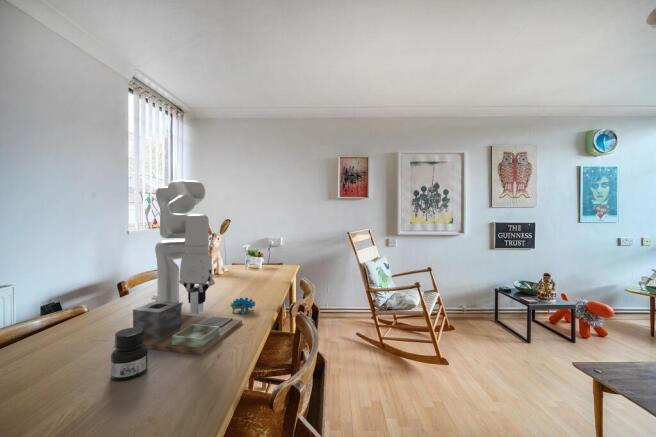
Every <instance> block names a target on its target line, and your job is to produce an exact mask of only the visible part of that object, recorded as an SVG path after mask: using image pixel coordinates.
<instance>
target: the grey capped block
mask: <svg viewBox="0 0 656 437" xmlns="http://www.w3.org/2000/svg"><path fill="white" fill-rule="evenodd" d="M199 292H200V290H199V284H197V285H195V287H193V288H190V303H189V304H190V305H189V308H190V310H189V312H190V314H191V315H199V314H201V313H203V312H204V302H203V303H201V304H198V293H199ZM190 314H189V315H190Z"/></svg>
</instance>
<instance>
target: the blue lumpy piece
mask: <svg viewBox="0 0 656 437" xmlns="http://www.w3.org/2000/svg"><path fill="white" fill-rule="evenodd" d="M255 306H256V302H255V300H253V298H248V297H244V298H243V297H239V298H236V299H235V300H233V302H231V303H230V307H231V309H232V314H235V310H239V309H240V310H241V314H242V315H244V314H245V310H249V309H253V307H255Z"/></svg>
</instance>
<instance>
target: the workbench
mask: <svg viewBox="0 0 656 437" xmlns="http://www.w3.org/2000/svg"><path fill="white" fill-rule="evenodd" d="M242 324H243V319H235V318H231V317H222V316H200V315H193V314H191V315H190V314H182V304H181V303H176V302H164V301H156V300H155V301H152V302H150V303H148V304H144V305H142V306H140V307H139V306H138V308H134V309H132V327H140V328H143V344H145V345H146V346H147V348H148V350H156V351H163V352H164V351H165V352H172V353H180V354H189V355H199V356H203V355H204V354H205V353H206V352H208V351H209V349H211V348H213V347H214V346H215V345H216V344H218V343H219V342H221V340H223V339H224V338H225V337H227V336H228V335H229V334H230V333H232V332H233V331H235V329H237V328H238V327H239V326H241V325H242Z"/></svg>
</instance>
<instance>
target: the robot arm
mask: <svg viewBox="0 0 656 437" xmlns="http://www.w3.org/2000/svg"><path fill="white" fill-rule="evenodd" d="M205 196H206V189H205V185H204V184H203V183H202V182H201V181H199V180H198V181H197V180H187V179H186V180H185V179H177V180H176V179H175V180H171V182H170V183H169V184H168V185H167V186H160V187H158V188H157V189H156V191H155V199H156V202H157V204H158V207H159V210H160V214H159V215H160V216H159V217H160V218H159V235H160V237H161V238H163V239H166V240H161V241H159V242H157V243H156V244H155V247H154V251H155V257H156V264H157V265H156V267H157V270H156V271H157V272H156V273H157V274H156V275H157V276H156V278H157V280H156V282H157V287H156V288H157V294H152V297H151V300H153V301H154V300H155V301H164V302H176V303H181V305H182V304H183V299H182V298H180V284H181V285H182V286H183V287H184V288H185V289H186V292H187V300H188V304H190V288H193V287H196V285H199V290H200V292H199V293H198V304H201V303H203V304H204V303H205V302H206V299H207V298H206V296H207V295H206V292H207V290H208V289H209V288H211V287H212V286H214V285H216V283H215V280H214V278H213V275H214V274H213V262H212V257H211V253H209V251H210V250H209V248H210V247H209V240H210V239H209V237H210V236H209V233H210V232H209V227H210V225H209V217H208V216H207V214H202V213H190V212H191V211H193V209H195V206H197V205H198V204H200V203H201V202H202V201H203V200H204V199H205ZM175 260H181V262H180V267H179V265H178V264H177V263H176V262H175Z"/></svg>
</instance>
